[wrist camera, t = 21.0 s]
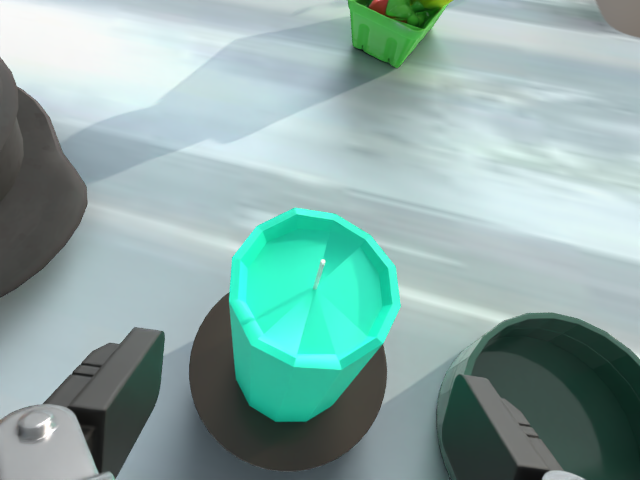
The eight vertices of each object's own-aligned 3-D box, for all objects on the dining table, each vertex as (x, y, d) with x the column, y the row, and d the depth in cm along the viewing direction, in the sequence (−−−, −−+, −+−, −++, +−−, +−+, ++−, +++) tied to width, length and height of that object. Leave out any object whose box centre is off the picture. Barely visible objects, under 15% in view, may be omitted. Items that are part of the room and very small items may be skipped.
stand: (336, 281, 32) (346, 254, 29) (397, 438, 27) (418, 428, 24) (180, 323, 29) (171, 298, 26) (219, 506, 24) (214, 506, 21)
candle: (224, 324, 25) (209, 198, 15) (328, 301, 27) (378, 172, 17) (247, 438, 23) (248, 380, 12) (361, 405, 24) (446, 328, 14)
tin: (563, 310, 33) (598, 289, 30) (687, 511, 28) (746, 511, 24) (401, 365, 30) (421, 347, 26) (505, 609, 24) (546, 624, 21)
